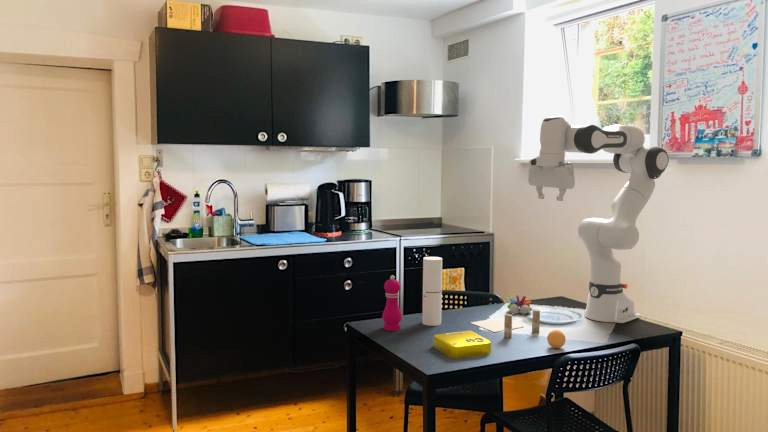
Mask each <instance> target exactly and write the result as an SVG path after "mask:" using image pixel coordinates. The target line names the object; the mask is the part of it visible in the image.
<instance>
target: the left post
mask: <svg viewBox="0 0 768 432" xmlns="http://www.w3.org/2000/svg"><path fill="white" fill-rule="evenodd" d="M504 320H505V321H504V331H503V337H504V338H505V339H512V333H513V332H512V331H513V329H512V323H513V315H512V314H510V313H507V314H504Z"/></svg>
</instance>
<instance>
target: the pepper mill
mask: <svg viewBox="0 0 768 432" xmlns="http://www.w3.org/2000/svg"><path fill="white" fill-rule="evenodd" d="M395 278H396V277H395V275H393V274H392V275H390V277H389V279H387V280H386V281H385V283H384V284H383V285H384V286H383V288H384V290H385V297H386V303H385V307H384V309H383V312H382V316H381V318H382V321H383V322H384V323H383V329H384V330H385V331H388V332H389V331H390V332H396V331H399V330H401V323H400V322H401V321H402V318H403V315H402V312H401V309H400V306H399V301H398V300H399V297H400V293H399V292H400V290H401V287H402V286H401V283H400V281H399V280H397V279H395Z"/></svg>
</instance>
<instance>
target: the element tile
mask: <svg viewBox="0 0 768 432" xmlns="http://www.w3.org/2000/svg"><path fill="white" fill-rule="evenodd" d="M433 348H434V349H436V350H437V351H438V352H439V351H440V352H441V353H443V354H444V355H445V356H448V358H450V359H463V358H471V357H479V356H486V355H490V354H492V353H491V351H492V349H491V348H492V342H491V340H489V339H487V338H485V337H484V336H481V334H478V333H476V332H474V331H473V330H462V331H452V332H446V333H436V334H434V335H433Z"/></svg>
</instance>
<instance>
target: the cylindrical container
mask: <svg viewBox="0 0 768 432" xmlns="http://www.w3.org/2000/svg"><path fill="white" fill-rule="evenodd" d="M422 261H423V262H422V268H423V269H422V320H421V321H422V322H421V323H422V325H425V326H430V327H431V326H433V327H435V326H436V327H437V326H440V325H441V324H442V307H443V306H442V303H443V301H442V300H443V299H442V298H443V297H442V295H443V291H442V290H443V288H442V287H443V258H442V257H439V256H424V257H423V260H422Z"/></svg>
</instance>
